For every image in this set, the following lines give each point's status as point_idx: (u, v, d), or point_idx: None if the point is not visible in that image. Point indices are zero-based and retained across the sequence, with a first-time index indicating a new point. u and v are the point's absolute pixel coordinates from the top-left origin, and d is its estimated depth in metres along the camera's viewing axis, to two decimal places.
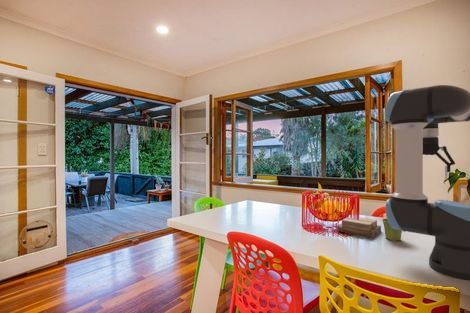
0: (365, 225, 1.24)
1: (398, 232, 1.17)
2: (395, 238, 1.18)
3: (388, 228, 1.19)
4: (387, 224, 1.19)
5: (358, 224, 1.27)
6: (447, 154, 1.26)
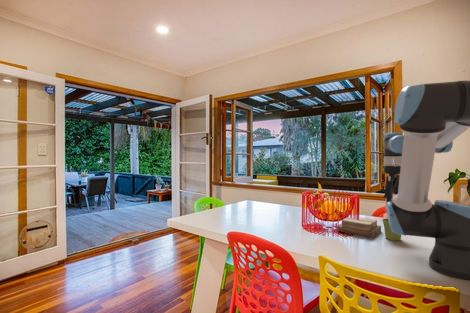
0: (365, 225, 1.24)
1: None
2: (395, 238, 1.18)
3: (388, 228, 1.19)
4: (387, 224, 1.19)
5: (358, 224, 1.27)
6: None
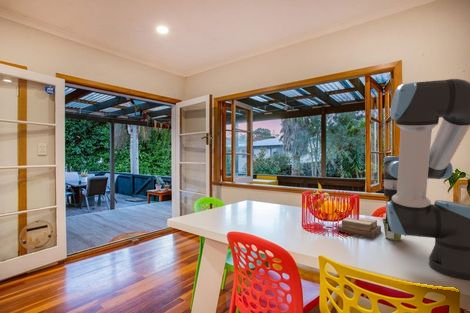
0: (365, 225, 1.24)
1: None
2: (395, 238, 1.18)
3: None
4: None
5: (358, 224, 1.27)
6: None
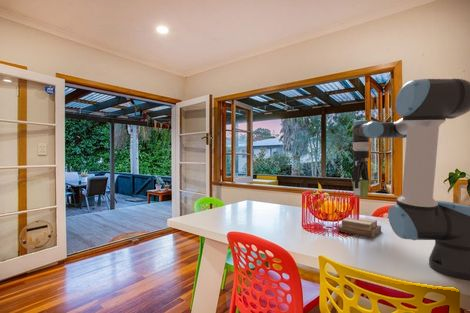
0: (365, 225, 1.24)
1: (364, 189, 1.29)
2: (362, 195, 1.29)
3: None
4: None
5: (358, 224, 1.27)
6: None
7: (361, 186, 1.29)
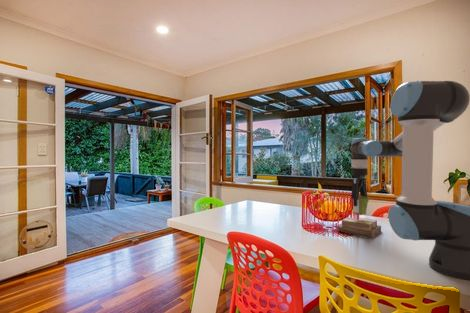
0: (365, 225, 1.24)
1: (363, 207, 1.29)
2: (360, 212, 1.29)
3: None
4: None
5: (358, 224, 1.27)
6: None
7: (360, 204, 1.29)
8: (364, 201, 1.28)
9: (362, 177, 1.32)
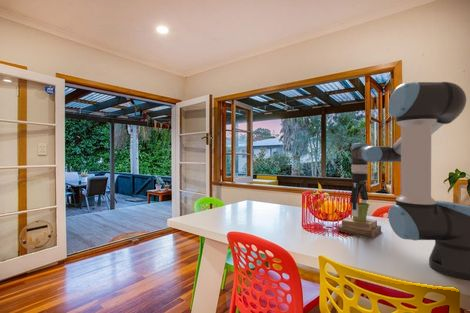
0: (365, 225, 1.24)
1: (363, 214, 1.29)
2: (360, 219, 1.29)
3: None
4: None
5: (358, 224, 1.27)
6: None
7: (360, 210, 1.29)
8: (364, 208, 1.28)
9: (362, 183, 1.32)
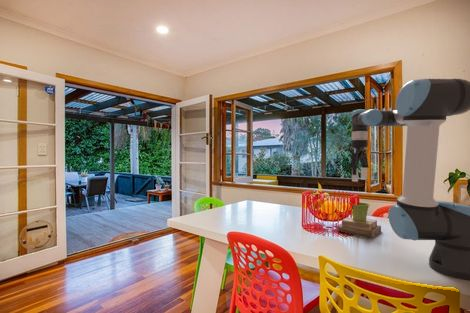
0: (365, 225, 1.24)
1: (363, 214, 1.29)
2: (360, 219, 1.29)
3: (355, 210, 1.30)
4: (353, 206, 1.30)
5: (358, 224, 1.27)
6: None
7: (360, 210, 1.29)
8: (364, 208, 1.28)
9: (362, 150, 1.32)
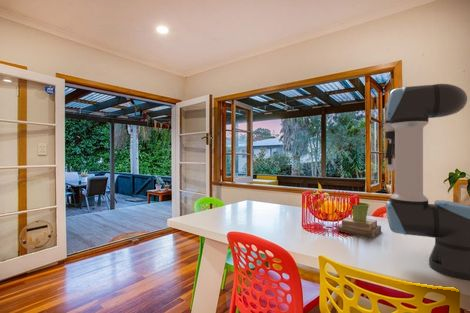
0: (365, 225, 1.24)
1: (363, 214, 1.29)
2: (360, 219, 1.29)
3: (355, 210, 1.30)
4: (353, 206, 1.30)
5: (358, 224, 1.27)
6: (387, 147, 1.33)
7: (360, 210, 1.29)
8: (364, 208, 1.28)
9: None
